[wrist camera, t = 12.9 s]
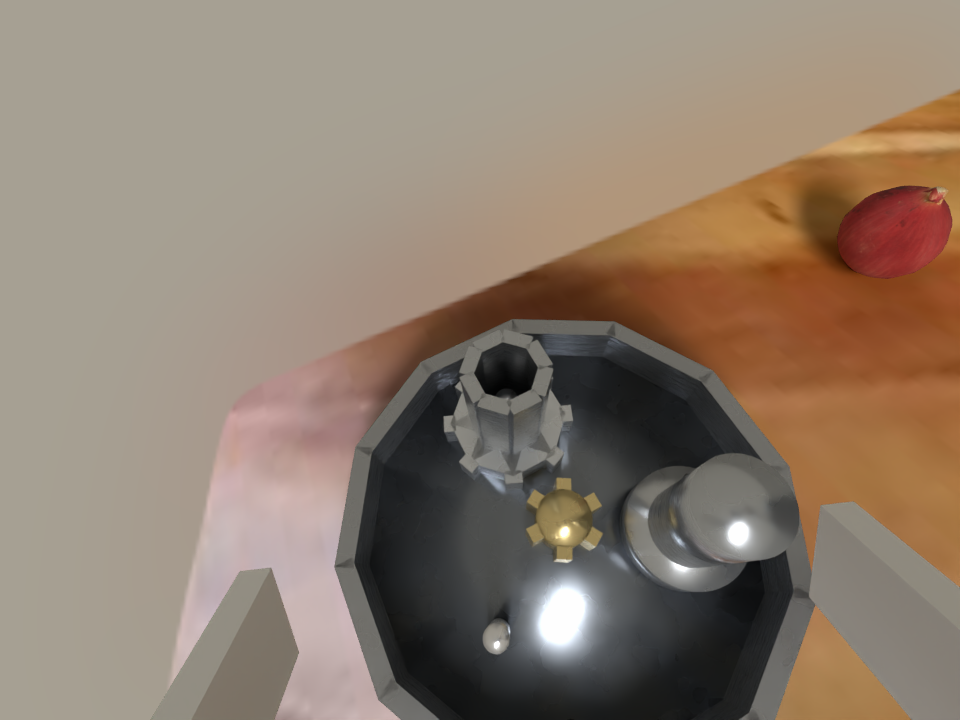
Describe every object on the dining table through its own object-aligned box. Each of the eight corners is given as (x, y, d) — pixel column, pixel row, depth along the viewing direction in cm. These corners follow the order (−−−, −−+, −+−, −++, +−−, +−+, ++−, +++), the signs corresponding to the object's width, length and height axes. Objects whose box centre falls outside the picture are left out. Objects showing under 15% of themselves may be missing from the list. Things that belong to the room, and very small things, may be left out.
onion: (799, 245, 37) (867, 163, 30) (869, 228, 38) (953, 142, 30) (841, 308, 35) (927, 234, 28) (915, 289, 35) (1019, 211, 28)
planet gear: (530, 356, 33) (536, 280, 25) (590, 453, 30) (618, 401, 22) (430, 405, 32) (402, 342, 24) (482, 510, 29) (469, 478, 21)
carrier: (616, 299, 36) (652, 196, 27) (863, 628, 26) (1056, 649, 17) (313, 444, 33) (232, 384, 24) (466, 883, 23) (433, 1084, 14)
